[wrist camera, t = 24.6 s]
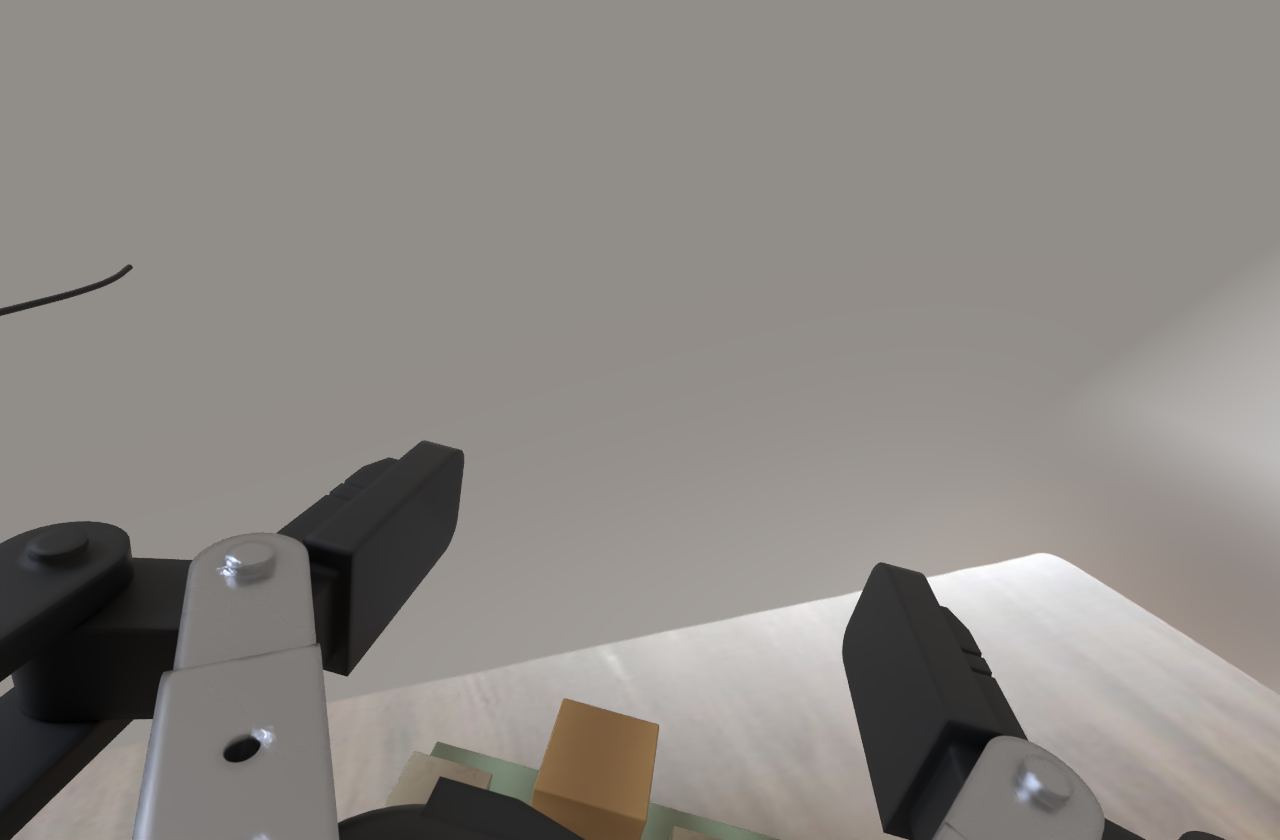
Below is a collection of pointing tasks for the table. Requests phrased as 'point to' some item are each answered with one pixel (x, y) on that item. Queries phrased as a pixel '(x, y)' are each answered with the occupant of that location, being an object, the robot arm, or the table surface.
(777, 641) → the table surface
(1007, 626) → the table surface
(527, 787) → the green block tray
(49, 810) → the table surface
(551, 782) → the brown wooden tall block
